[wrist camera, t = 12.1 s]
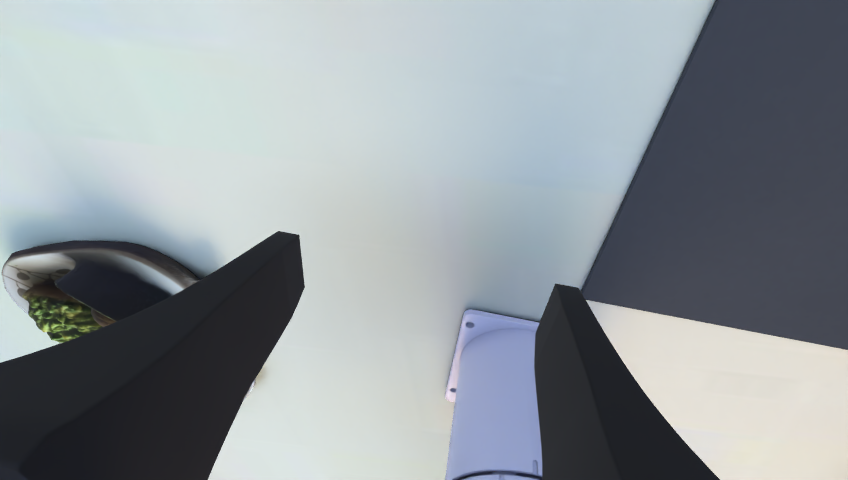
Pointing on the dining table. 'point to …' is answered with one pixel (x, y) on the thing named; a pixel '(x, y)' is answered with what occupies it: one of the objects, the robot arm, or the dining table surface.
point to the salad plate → (90, 284)
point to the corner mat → (745, 181)
